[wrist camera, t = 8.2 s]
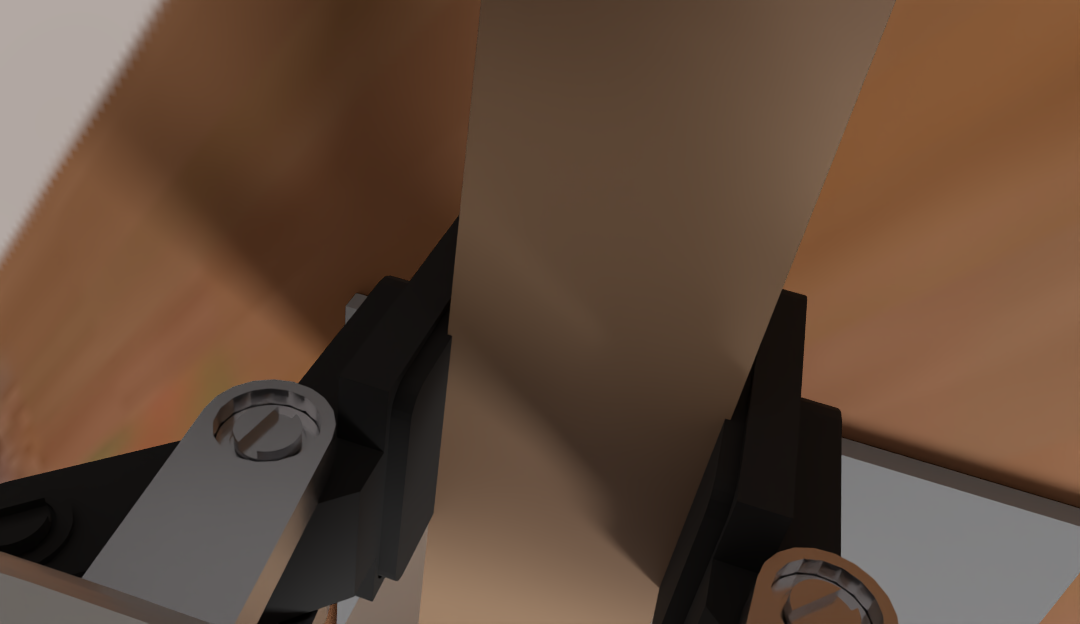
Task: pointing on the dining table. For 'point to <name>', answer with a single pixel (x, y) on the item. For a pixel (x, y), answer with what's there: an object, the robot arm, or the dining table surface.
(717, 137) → the tan rectangular bar
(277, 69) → the dining table surface
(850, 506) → the rubber mat
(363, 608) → the tile
